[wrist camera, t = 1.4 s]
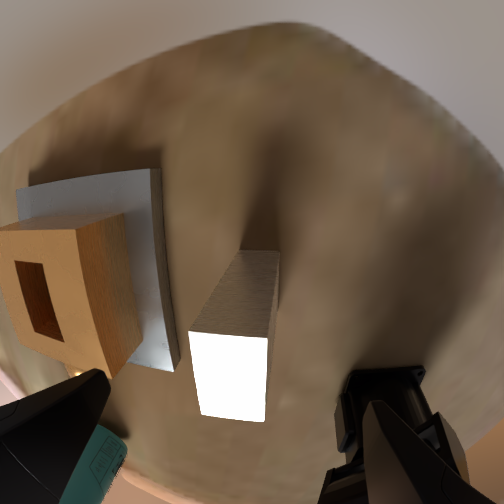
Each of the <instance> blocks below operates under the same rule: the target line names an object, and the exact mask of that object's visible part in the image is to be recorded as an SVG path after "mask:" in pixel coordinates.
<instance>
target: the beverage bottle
mask: <svg viewBox="0 0 504 504" xmlns="http://www.w3.org/2000/svg"><path fill="white" fill-rule="evenodd" d="M127 450H128V449H127V446H126V445H125V443H124V442H123V441H122V440H121V439H120V438H119V437H118V436H116V435H115V434H114V433H112V432H111V431H110V430H108V429H106V428H105V427H103V426H101V425H98V424H97V426H96V428H95V430H94V432H93V434H92V436H91V438H90V440H89V442H88V443H87V445H86V447H85V449H84V451H83V453H82V455H81V457H80V459H79V461H78V463H77V465H76V467H75V470H74V472H73V474H72V476H71V478H70V480H69V482H68V484H67V486H66V489H65V491H64V493H63V495H62V497H61V499H60V502H59V504H101V502H102V501H103V499H104V497H105V495H106V493H107V491H108V489H109V487H110V485H112V484H111V483H112V481H113V479H114V477H115V476H116V474H117V472H118V470H119V468H120V467H121V465H122V464H123V463H122V462H123V461H125V460H124V458H126V455H127Z"/></svg>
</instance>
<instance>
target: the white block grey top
mask: <svg viewBox="0 0 504 504" xmlns="http://www.w3.org/2000/svg"><path fill="white" fill-rule="evenodd" d="M279 259H280V251H268V250H240V249H239V251H238V252H237V254H236V256H235V257H234V259H233V260H232V262H231V263H230V265H229V267H228V268H227V270H226V271H225V273H224V275H223V276H222V278H221V280H220V281H219V283H218V284H217V286H216V288H215V289H214V291H213V292H212V294H211V296H210V297H209V299H208V300H207V302H206V304H205V305H204V307H203V309H202V310H201V312H200V313H199V315H198V317H197V318H196V320H195V321H194V323H193V325H192V326H191V328H190V330H189V331H188V332H189V339H190V347H191V353H192V360H193V367H194V373H195V379H196V385H197V391H198V396H199V402H200V407H201V412H202V414H205V415H211V416H218V417H225V418H232V419H241V420H251V421H262V422H264V417H265V410H266V403H267V395H268V388H269V380H270V372H271V364H272V356H273V348H274V339H275V330H276V321H277V312H278V289H279Z"/></svg>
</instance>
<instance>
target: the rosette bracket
mask: <svg viewBox="0 0 504 504" xmlns="http://www.w3.org/2000/svg"><path fill="white" fill-rule="evenodd" d="M16 197H17V208H18V217H19V222H16V223H12V224H9V225H6V226H3V227H0V285H1V289H2V292H3V296H4V299H5V303H6V306H7V309H8V312H9V315H10V318H11V321H12V323H13V326H14V329H15V331H16V334H17V337H18V339H19V342H20V344H22V345H24V346H26V347H28V348H31V349H33V350H35V351H37V352H39V353H42V354H44V355H46V356H49V357H51V358H54V359H56V360H58V361H61V362H63V363H64V365H65V367H66V370H67V372H68V374H69V376H70V378H72V377H75V376H77V375H79V374H82V373H84V372H86V371H88V370H91V369H93V368H97V369H100V370H103V371H104V372H105V373H106V376H107V378H110V379H113V378H114V377H115V376H116V374H117V373H118V372H119V370H120V369H121V368H122V367H123V365H124V364H125V363H126V362H130V363H134V364H138V365H143V366H147V367H152V368H157V369H162V370H167V371H172V372H174V371H175V369H176V367H177V365H178V363H179V362H180V355H179V349H178V343H177V337H176V330H175V324H174V317H173V310H172V303H171V295H170V287H169V278H168V269H167V259H166V248H165V236H164V222H163V205H162V182H161V168H151V169H140V170H130V171H121V172H113V173H105V174H98V175H91V176H84V177H78V178H72V179H66V180H60V181H55V182H50V183H44V184H39V185H35V186H30V187H25V188H21V189H17V190H16Z"/></svg>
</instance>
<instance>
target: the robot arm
mask: <svg viewBox="0 0 504 504" xmlns="http://www.w3.org/2000/svg"><path fill="white" fill-rule="evenodd" d="M425 372H426V370H425V368H424V366H413V367H402V368H390V369H374V370H355V371H352V372H351V373H350V374H349V377H348V380H347V384H346V388H345V391H344V393H342V394H341V395H340V397H339V400H338V403H337V407H336V410H335V413H334V417H335V427H336V437H337V448H338V451H339V452H340V453H345V455H346V464H345V465H343V466H340V467H338V468H333V469H330V470H328V471H327V473H326V477H325V480H324V484H323V487H322V490H321V494H320V497H319V500H318V503H317V504H496V503H495V502H493V501H492V500H490V499H489V498H487V497H486V496H484V495H483V494H481V493H480V492H479V491H477V490H476V489H475V488H473V487H472V486H471V485H470V479H469V473H468V467H467V461H466V456H465V452H464V450H463V448H462V446H461V443H460V441H459V439H458V437H457V435H456V433H455V431H454V430H453V429H452V427H451V426H450V425H449V424H448V422H447V421H446V420H445V419H444V418H443V416H442V415H441V414H440V413H439V411H438V412H436V413H435V414H434V415H433V414H432V412H431V410H430V407H429V405H428V403H427V401H426V398H425V396H424V394H423V392H422V390H421V387H420V384H421V382H422V380H423V377H424V375H425ZM355 376H358V377H355ZM354 377H355V378H354ZM110 391H111V386H110V384H109V381H108V379H107V376H106V373H105V372H104V371H103V370H100V369H97V368H93V369H91V370H88V371H86V372H84V373H82V374H79V375H77V376H75V377H72V378H70V379H68V380H65V381H63V382H61V383H58V384H56V385H54V386H51V387H49V388H46V389H44V390H42V391H39V392H37V393H34V394H32V395H29V396H27V397H24V398H22V399H20V400H17V401H14V402H12V403H9V404H6V405H3V406H0V504H59V502H60V499H61V497H62V495H63V493H64V491H65V489H66V486H67V484H68V482H69V480H70V478H71V476H72V474H73V472H74V470H75V467H76V465H77V463H78V461H79V459H80V457H81V455H82V453H83V451H84V449H85V447H86V445H87V443H88V442H89V440H90V438H91V436H92V434H93V432H94V430H95V428H96V426H97V424H98V422H99V419H100V417H101V414H102V412H103V409H104V407H105V404H106V402H107V399H108V397H109V395H110Z"/></svg>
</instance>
